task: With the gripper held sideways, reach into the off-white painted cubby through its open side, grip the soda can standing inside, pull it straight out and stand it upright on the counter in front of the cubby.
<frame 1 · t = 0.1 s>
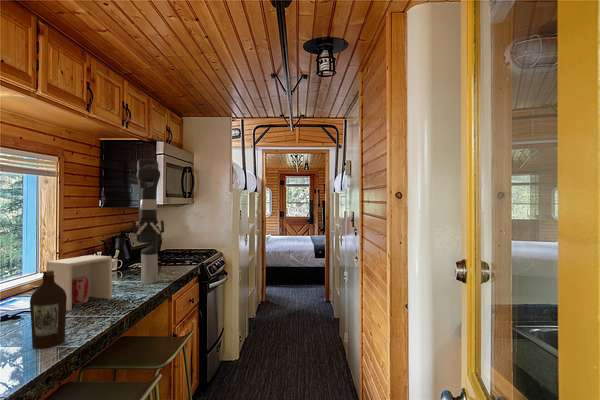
hand: (148, 241, 182), 29 cm above the worktop, tool pointing down, fingers open, 8 cm apart
olive oil: (48, 344, 129), on the worktop
cubby: (80, 302, 181), on the worktop
soda can: (80, 303, 181), on the worktop
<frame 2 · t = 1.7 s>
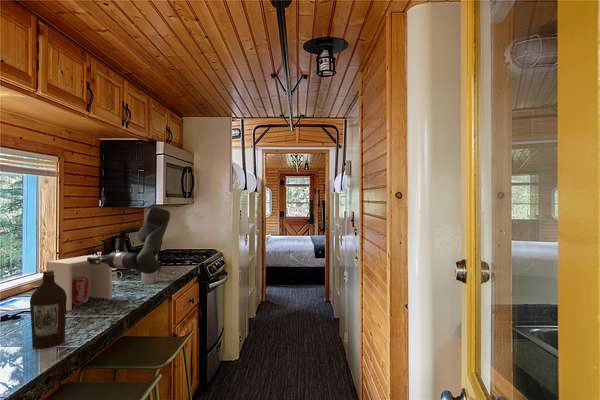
hand: (96, 258, 176), 22 cm above the worktop, tool horizontal, fingers open, 8 cm apart
nothing on the worktop moved.
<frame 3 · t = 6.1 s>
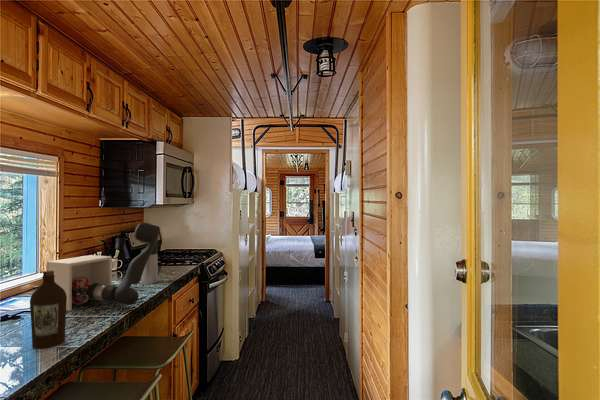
hand: (77, 288, 181), 7 cm above the worktop, tool horizontal, fingers closed on soda can, 7 cm apart
soda can: (80, 303, 181), on the worktop, touching gripper
everything else where it was.
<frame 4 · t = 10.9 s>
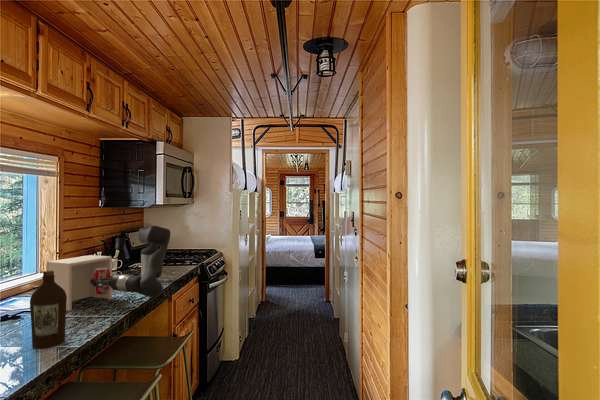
hand: (98, 279, 176), 12 cm above the worktop, tool horizontal, fingers closed on soda can, 7 cm apart
soda can: (102, 294, 175), point 5 cm above the worktop, touching gripper
everything else where it was.
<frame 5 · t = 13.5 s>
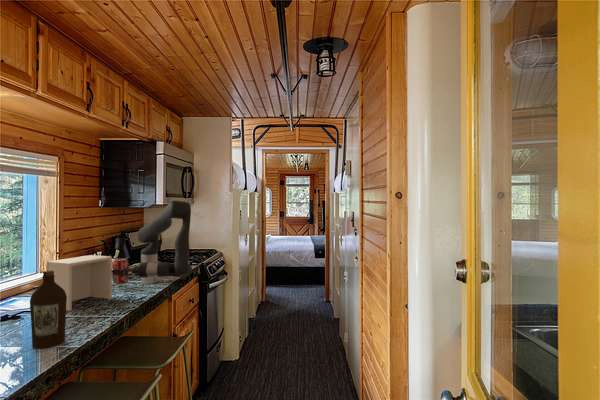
hand: (116, 270, 184), 15 cm above the worktop, tool horizontal, fingers closed on soda can, 7 cm apart
soda can: (121, 283, 184), point 8 cm above the worktop, touching gripper
everything else where it was.
when the fingers open (7 cm above the worktop, at t = 15.7 s): soda can stays where it is, on the worktop.
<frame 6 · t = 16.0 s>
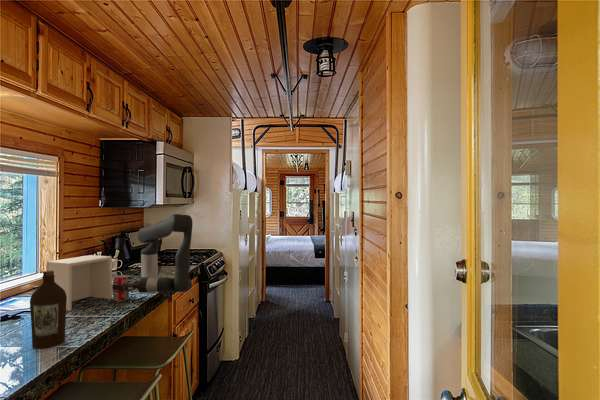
hand: (116, 285, 184), 7 cm above the worktop, tool horizontal, fingers open, 8 cm apart
soda can: (121, 300, 184), on the worktop
everything else where it was.
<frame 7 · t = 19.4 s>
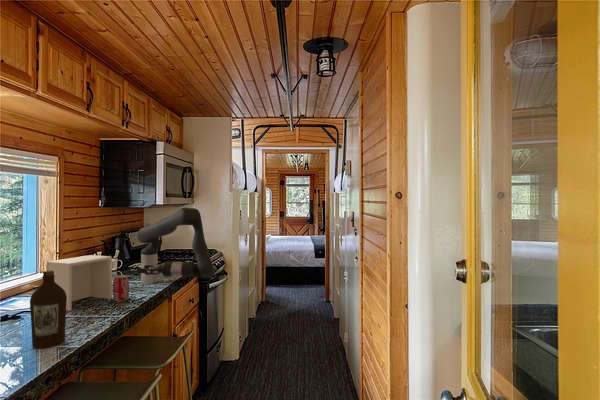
hand: (141, 269, 185), 15 cm above the worktop, tool horizontal, fingers open, 8 cm apart
nothing on the worktop moved.
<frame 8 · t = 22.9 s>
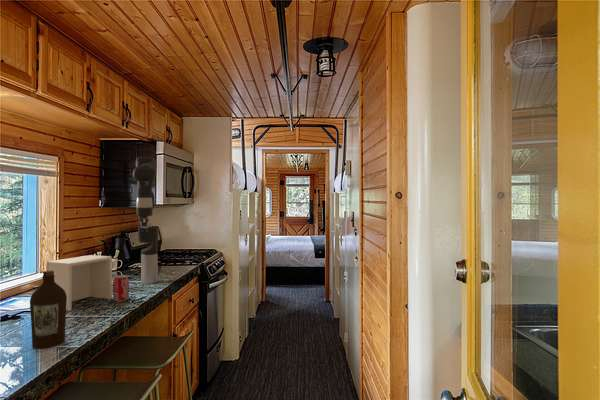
hand: (144, 238, 189), 30 cm above the worktop, tool pointing down, fingers open, 8 cm apart
nothing on the worktop moved.
at the end: soda can inside the target area (0.1 cm from its centre), on the worktop; soda can tilted 0°; the gripper is holding nothing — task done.
